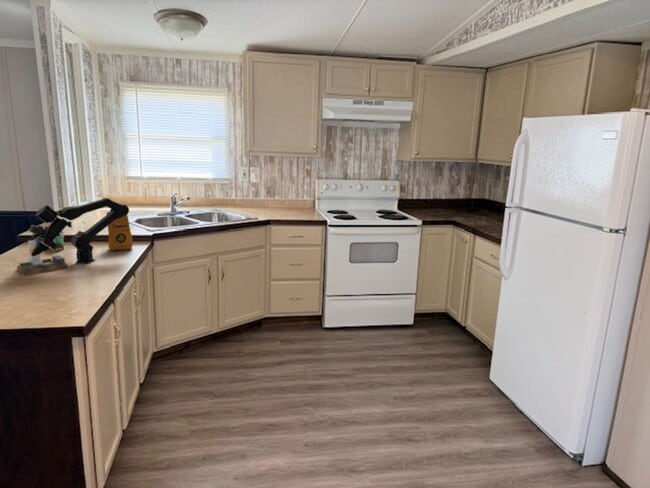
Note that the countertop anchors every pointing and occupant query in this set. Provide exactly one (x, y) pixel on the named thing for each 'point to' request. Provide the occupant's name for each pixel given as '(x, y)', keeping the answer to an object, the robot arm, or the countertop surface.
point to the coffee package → (120, 234)
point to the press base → (43, 266)
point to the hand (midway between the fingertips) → (31, 255)
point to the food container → (59, 242)
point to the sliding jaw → (34, 259)
